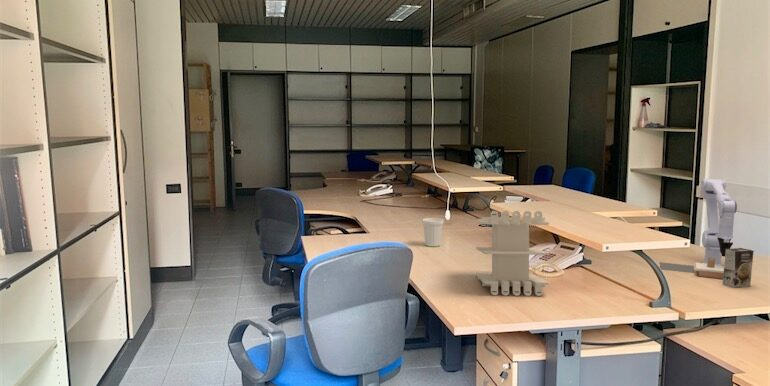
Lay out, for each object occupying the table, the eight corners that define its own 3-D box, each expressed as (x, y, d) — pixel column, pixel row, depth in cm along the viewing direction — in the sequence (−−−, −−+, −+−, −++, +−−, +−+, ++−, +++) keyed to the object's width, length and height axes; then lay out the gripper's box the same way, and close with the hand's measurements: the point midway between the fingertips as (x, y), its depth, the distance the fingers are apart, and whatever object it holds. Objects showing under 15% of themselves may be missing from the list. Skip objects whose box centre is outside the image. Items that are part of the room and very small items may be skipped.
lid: (695, 264, 266) (696, 254, 265) (724, 267, 260) (725, 257, 260) (696, 269, 255) (696, 259, 255) (726, 273, 250) (727, 262, 249)
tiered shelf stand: (484, 295, 228) (484, 210, 229) (475, 285, 259) (475, 210, 260) (549, 296, 227) (549, 211, 228) (532, 286, 258) (532, 211, 259)
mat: (659, 263, 281) (659, 262, 281) (693, 266, 275) (693, 265, 275) (659, 270, 268) (659, 269, 268) (694, 273, 261) (695, 273, 261)
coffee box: (734, 288, 239) (737, 251, 237) (721, 284, 245) (724, 248, 243) (751, 286, 242) (754, 250, 240) (738, 282, 248) (741, 247, 246)
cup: (419, 247, 317) (420, 220, 315) (424, 242, 329) (424, 217, 327) (441, 248, 314) (441, 222, 312) (445, 243, 326) (445, 218, 324)
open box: (698, 272, 265) (698, 264, 264) (722, 274, 260) (723, 267, 260) (699, 277, 256) (699, 269, 255) (724, 279, 251) (725, 272, 251)
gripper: (714, 222, 266) (712, 250, 268) (717, 228, 254) (715, 257, 255) (732, 224, 263) (729, 252, 265) (735, 229, 250) (733, 258, 252)
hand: (723, 254), depth 260 cm, fingers open, 7 cm apart
